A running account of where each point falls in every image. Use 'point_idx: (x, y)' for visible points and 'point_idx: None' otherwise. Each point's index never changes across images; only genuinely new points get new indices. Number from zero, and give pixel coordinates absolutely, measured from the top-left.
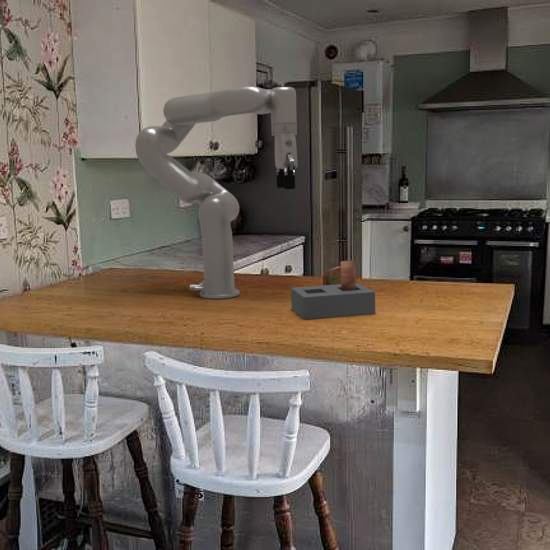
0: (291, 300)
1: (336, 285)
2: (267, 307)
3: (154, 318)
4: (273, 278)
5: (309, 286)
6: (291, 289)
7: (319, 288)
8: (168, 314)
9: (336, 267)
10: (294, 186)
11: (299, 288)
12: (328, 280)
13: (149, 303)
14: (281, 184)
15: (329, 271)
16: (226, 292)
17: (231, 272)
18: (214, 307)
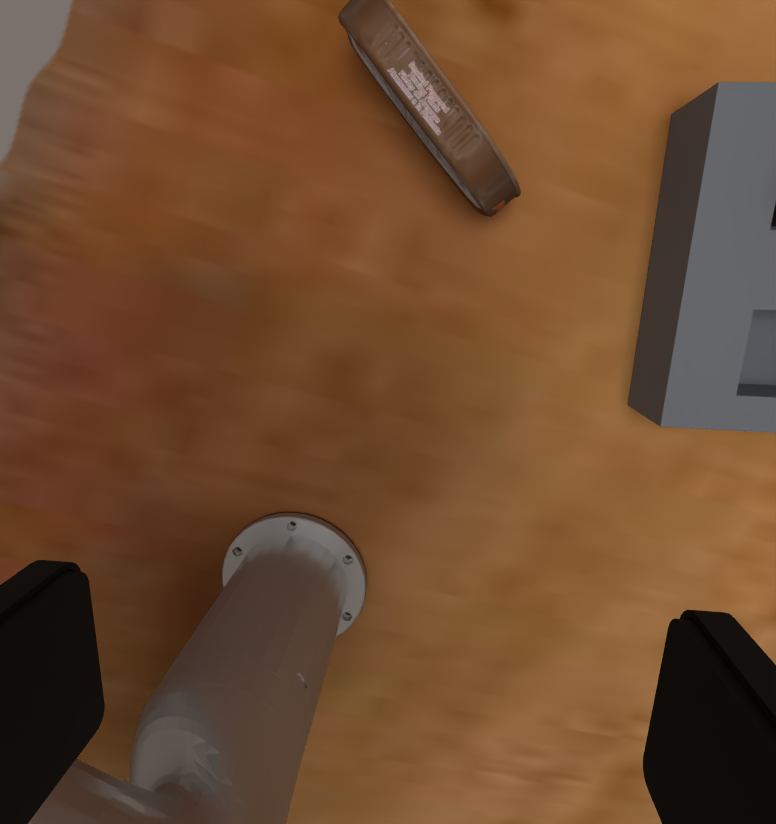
0: (641, 412)
1: (720, 215)
2: (568, 478)
3: (557, 798)
4: (16, 309)
5: (674, 343)
6: (665, 425)
7: (744, 316)
8: (523, 760)
9: (412, 90)
10: (743, 643)
11: (695, 398)
12: (519, 191)
13: (344, 780)
14: (62, 699)
15: (486, 164)
16: (343, 575)
17: (311, 594)
18: (486, 631)
